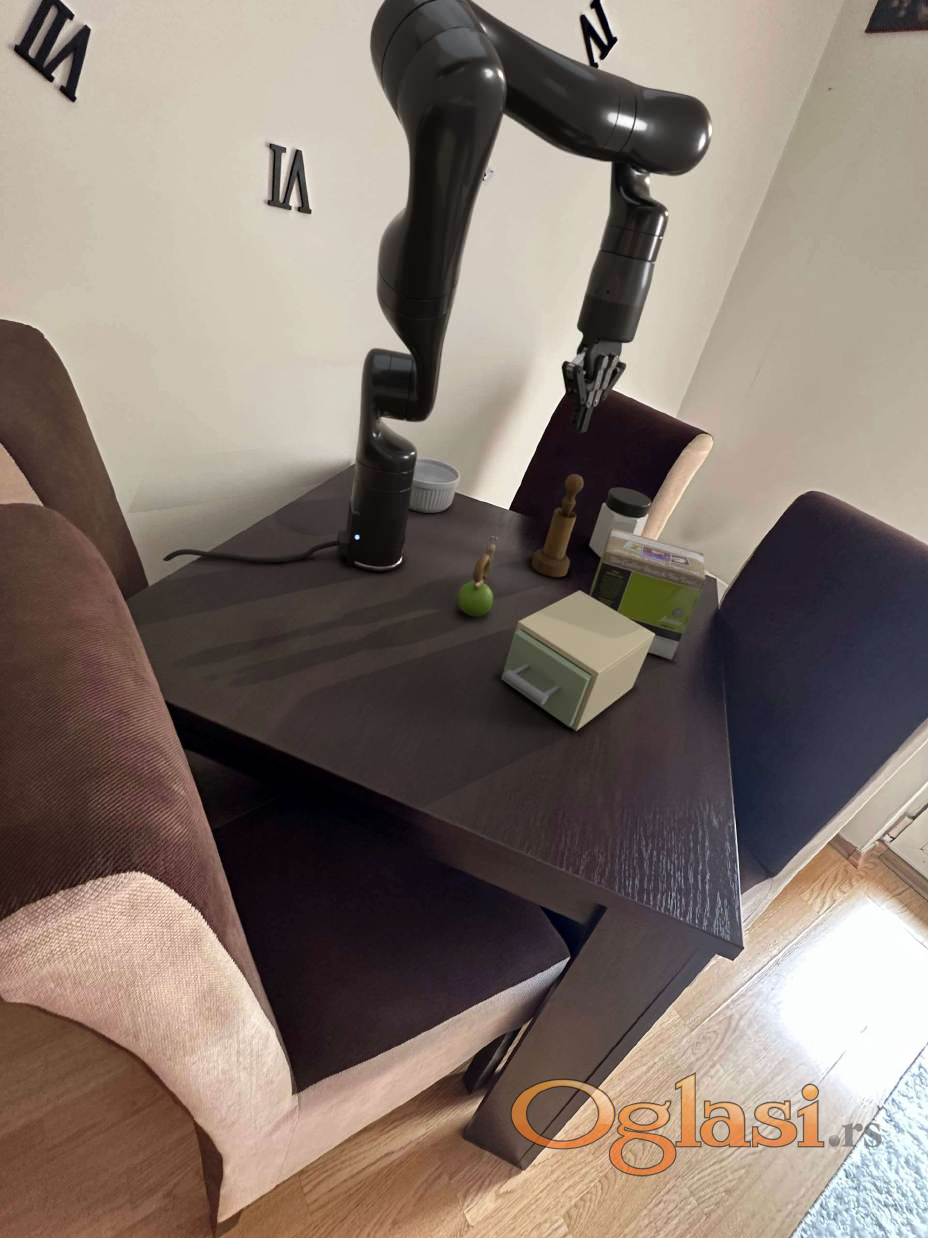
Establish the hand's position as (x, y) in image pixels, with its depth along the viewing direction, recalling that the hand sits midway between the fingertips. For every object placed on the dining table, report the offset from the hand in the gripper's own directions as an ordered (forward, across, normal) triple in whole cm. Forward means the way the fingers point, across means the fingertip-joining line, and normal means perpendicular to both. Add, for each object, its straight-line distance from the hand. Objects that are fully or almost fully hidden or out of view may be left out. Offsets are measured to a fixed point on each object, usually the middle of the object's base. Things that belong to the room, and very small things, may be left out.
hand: (576, 431), depth 91 cm
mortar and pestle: (+29, +13, +5) cm, 33 cm away
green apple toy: (+29, -10, +3) cm, 31 cm away
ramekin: (+29, +11, +36) cm, 48 cm away
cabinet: (+29, -12, -16) cm, 35 cm away
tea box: (+29, +8, -14) cm, 34 cm away
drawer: (+28, -15, -16) cm, 36 cm away
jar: (+29, +31, +3) cm, 43 cm away
